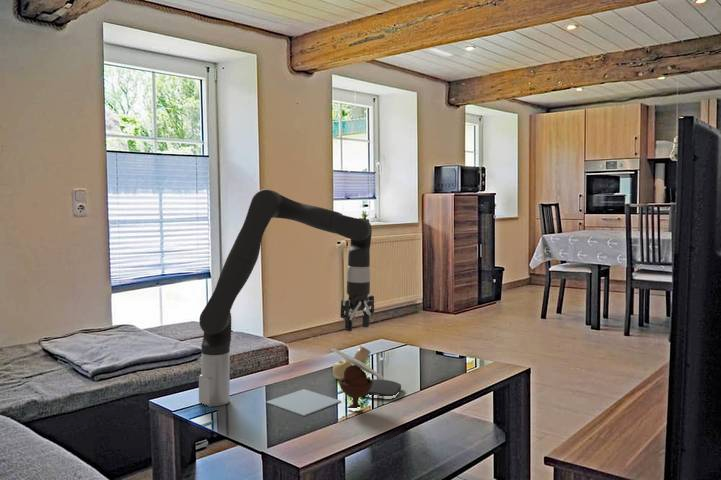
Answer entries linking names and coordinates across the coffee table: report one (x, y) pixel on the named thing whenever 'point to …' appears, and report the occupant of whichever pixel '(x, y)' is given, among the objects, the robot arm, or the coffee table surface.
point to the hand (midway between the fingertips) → (357, 328)
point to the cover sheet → (356, 362)
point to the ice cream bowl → (355, 384)
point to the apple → (340, 368)
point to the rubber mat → (303, 402)
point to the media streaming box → (384, 388)
